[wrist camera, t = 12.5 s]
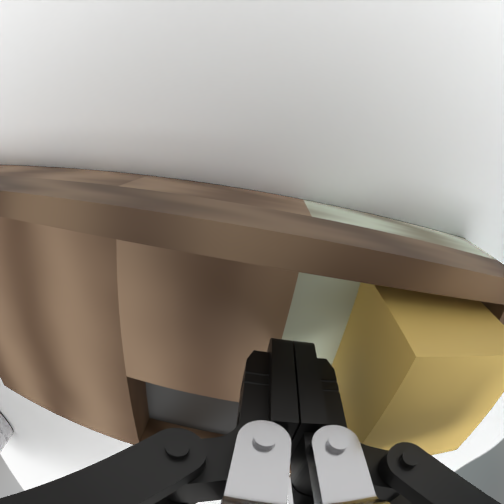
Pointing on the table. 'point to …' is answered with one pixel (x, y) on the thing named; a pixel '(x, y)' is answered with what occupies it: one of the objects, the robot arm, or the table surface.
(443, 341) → the block
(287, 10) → the table surface
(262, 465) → the robot arm
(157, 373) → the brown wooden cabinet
